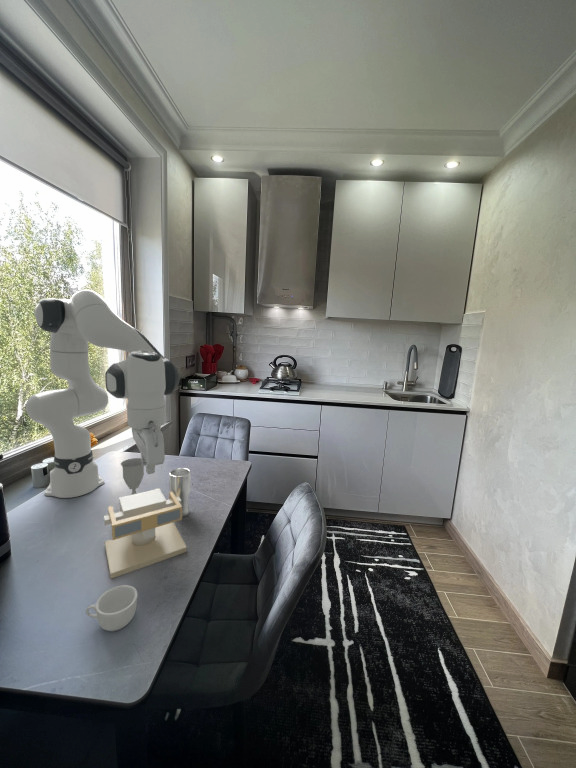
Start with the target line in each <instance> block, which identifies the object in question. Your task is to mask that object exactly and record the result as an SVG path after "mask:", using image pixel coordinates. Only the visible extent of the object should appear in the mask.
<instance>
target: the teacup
mask: <svg viewBox="0 0 576 768" xmlns="http://www.w3.org/2000/svg"><path fill="white" fill-rule="evenodd" d="M137 606H138V590H137V589H136V588H135V587H134V586H132V585H129V584H128V585H127V584H123V585H118V586H113V587H112V588H110V589H107V590H106V591H105V592H103V593H102V594H101V595H100V596H99V597H98V599H97V601H96V602H95V604H91V605H89V606H87V608H86V610H85V614H86V615H87V617H90V618H93V619H97V622H98V625H99V627H101V628H102V629H103V630H105V631H107V632H115V631H119V630H121V629H123V628H125V627H126V626H127V625H128V624H129V623H130V622H131V621H132V619H133V618H134V616H135V613H136V610H137V608H138V607H137ZM90 609H93V610H94V611H95V613H91V612H89V610H90Z"/></svg>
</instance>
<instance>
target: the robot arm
mask: <svg viewBox="0 0 576 768" xmlns="http://www.w3.org/2000/svg"><path fill="white" fill-rule="evenodd" d="M34 317H35V320H36V323H37V325H38V327H39V328H40V329H41V330H43V331H44V332H49V333H50V340H49V355H50V357H49V358H50V360H49V362H50V371H51V373H52V374H53V375H54V376H56V377H57V378H59V379H62V380H66V381H67V385H68V387H67V388H60V389H59V388H58V389H50V390H46V391H41V392H38V393H34V394H32V395H30V396H29V398H28V399H27V402H26V404H25V411H26V414H27V415H28V416H27V417H29V418H30V419H31V420H32V421H34V422H35V423H38V424H40V425H42V426H44V427H45V428H46V429H47V430H48V431H49V432H50V434H51V437H52V441H53V446H54V456H53V463H54V464H53V465H54V468H53V469H52V470H50V471H49V485H48V486H47V488H45V491H44V494H43V495H44V496H49V497H50V496H51V497H56V498H61V499H68V498H76V497H79V496H80V497H81V496H83V495H86V494H88V493H90V492H93V491H94V490H95V489H96V488H98V487H100V486H102V485H104V484H105V480H104V479H103V477H102V476H101V475H100V474H99V466H98V464H97V463H96V462H94V461H93V460H94V453H93V450H92V448H91V447H92V446H91V444H92V443H91V433H90V431H89V430H88V429H87V428H85V427H83V426H80V425H76V424H75V423H74V419H75V418H79V417H80V418H81V417H84V416H89V415H93V414H96V413H99V412H101V411H104V410H105V409H106V408H107V406H108V403H109V395H108V393H109V394H110V395H112V396H113V397H114V398H116V399H122V400H123V399H124V400H126V399H127V404H126V414H127V415H126V416H127V419H126V420H127V426H128V427H130V428H131V434H132V438H133V441H134V443H135V445H136V447H137V449H138V450H139V452H140V457H141V459H142V464H143V466H144V467H145V471H146V473H147V475H151V474H154V473H155V472H156V471H155V470H156V466H159V465H163V464H164V463H165V460H166V459H165V442H164V441H165V439H164V435H163V432H162V429H161V428H162V426H164V425H165V424H166V423H167V406H166V405H167V403H166V399H165V396H169V395H171V394H172V393H173V392H175V390H176V388H177V387H178V386H179V383H180V378H181V377H180V372H179V370H178V368H177V367H176V365H175V364H174V363H173V362H172V361H171V360H169V359H168V358H166V357H165V356H163V354H162V353H161V352H160V351H159V350H158V349H157V348H156V347H155V346H154V345H153V343H151V341H150V340H149V339H147V337H146V336H145V335H144V334H143V332H141V331H140V330H138V329H137V328H136V327H133V326H131V325H130V324H129V323H127V321H125V320H123V319H122V318H121V317H120V316H119V315H117V313H116V312H115V310H114V309H113V307H112V306H111V304H109V302H108V301H107V300H106V299H105V298H103V296H102V295H100V294H99V293H98V292H96V291H94V290H90V289H82V290H78V291H76V292H75V293H74V294H73V295H72V296H71V297H70V298H69V299H67V298H57V297H49V298H42V299H40V300H39V301H37V304H36V307H35V309H34ZM89 343H90V344H91V345H93V346H97V347H100V348H105V349H106V348H107V349H113V350H118V351H119V350H120V351H124V352H127V353H128V355H127V357H126V359H124V360H122V361H119V362H116V363H114V362H113V363H112V364H111V365H110V366H109V367H108V369H107V370H106V371H105V374H104V375H105V376H104V379H105V389H106V390H105V389H104V388H103V387H102V386H100V385H98V384H97V383H96V382H95V380H94V379H93V377H92V375H91V371H90V363H89V362H90V361H89ZM107 392H108V393H107Z"/></svg>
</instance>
